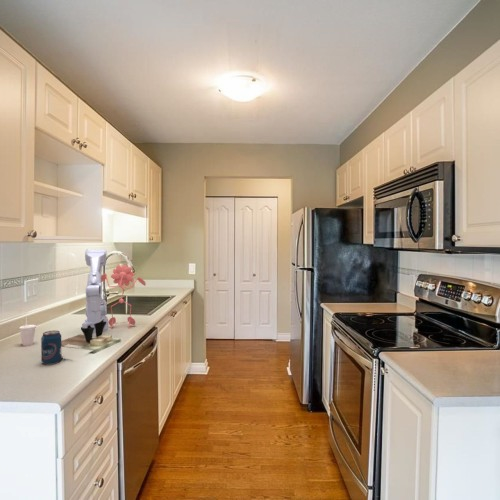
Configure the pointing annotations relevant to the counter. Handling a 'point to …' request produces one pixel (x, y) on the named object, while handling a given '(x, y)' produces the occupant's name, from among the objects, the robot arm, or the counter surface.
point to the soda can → (51, 347)
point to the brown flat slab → (81, 341)
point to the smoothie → (27, 334)
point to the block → (101, 340)
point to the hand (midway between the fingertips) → (94, 339)
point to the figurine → (122, 277)
